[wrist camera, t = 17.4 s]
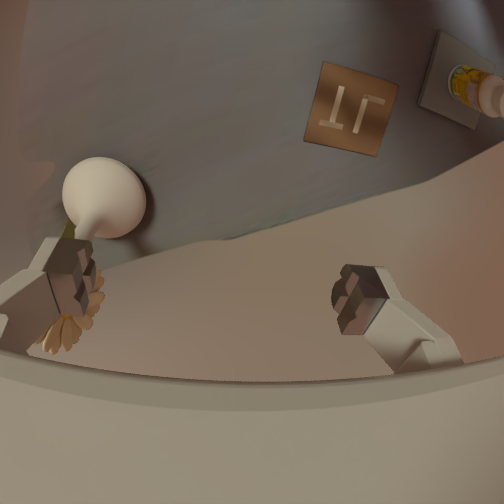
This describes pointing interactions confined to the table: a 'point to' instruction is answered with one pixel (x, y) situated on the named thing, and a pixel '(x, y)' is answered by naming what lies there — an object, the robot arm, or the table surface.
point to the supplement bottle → (477, 90)
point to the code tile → (350, 109)
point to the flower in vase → (95, 228)
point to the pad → (436, 80)
